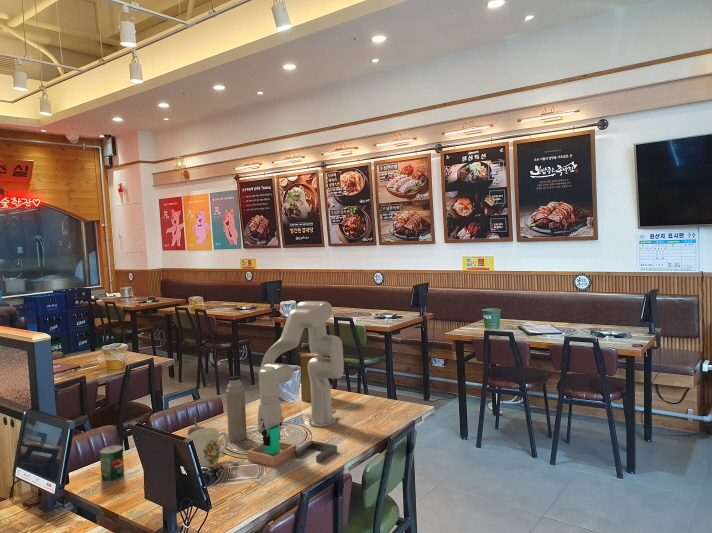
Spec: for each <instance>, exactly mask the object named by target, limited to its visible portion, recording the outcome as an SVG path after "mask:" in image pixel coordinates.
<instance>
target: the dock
mask: <svg viewBox="0 0 712 533" xmlns="http://www.w3.org/2000/svg"><path fill="white" fill-rule="evenodd" d="M312 450H318V451H321V452H320V453H318V454H317V455H315V462H316V463H318V464H322V463H323V462H324V461H326V460H327V459H329V458H330V457H332V456H333V455H335V454H336V453H338V445H337V444H336V445H335V444H330V443H325V442H320V441H315V440H309V441H308V442H307V443H304V444H303V445H302V446H300V447H297V448H296V450H295V451H294V455H293V457H294V458H297V459H298V458H301V457H302V456H303V455H305V454H307V453H309V451H312Z"/></svg>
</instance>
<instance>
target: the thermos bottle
mask: <svg viewBox="0 0 712 533" xmlns="http://www.w3.org/2000/svg"><path fill="white" fill-rule="evenodd" d="M225 392H226V393H225V396H226V397H225V398H226V413H227V414H226V415H227V431H228V433H227V436H228V441H229V440H231V441H239V442H241V441H240V440H243V441H245V440H246V439H247V438H248V435H247V434H248V433H247V432H248V431H247V415H246V414H247V413H246V412H247V411H246V394H245V393H246V392H245V388H244V385H243V382H241V376H239V375H232V376H229V377H228V384H227V386H226V390H225ZM246 437H247V438H246ZM245 438H246V439H245ZM244 439H245V440H244ZM231 441H230V442H231Z"/></svg>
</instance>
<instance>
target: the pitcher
mask: <svg viewBox="0 0 712 533" xmlns="http://www.w3.org/2000/svg"><path fill="white" fill-rule="evenodd" d="M221 436H223V437H224V444H223V446H222V445H221V441H220V438H221ZM186 438H187V439H189V440H191V439H192V440H193V441H194V445H195V448H196V451H197V454H198V457H199V461H200V464H201V466H202V467H204V466H206V467H211V468H213V467H215V466H216V464H217V463H218V462H219V459H220V456H221V454H223V452H225V450H226V449H227V447H228V446H229V436H228V433H226V432H225V431H220V430H219V429H218V428H215V427H204V428H203V429H199V430H196V431H194V432H192V433H191V434H190V435H188V434H187V436H186ZM192 440H191V441H192ZM221 446H222V448H221Z"/></svg>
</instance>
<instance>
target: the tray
mask: <svg viewBox="0 0 712 533" xmlns="http://www.w3.org/2000/svg"><path fill="white" fill-rule="evenodd" d="M296 449H297V444H296V443H295V444H294V443H290V442H285V441H282V440H280V452H279V453H277V454H272V455H271V454H266V453H265V445H263V442H262V443H260V444H258V445H256V446H254V447H253V448H250V449H249V450H247V451H246V453H247V454H246V455H247V456H246V457H247V460H248V461H251V462H255V463H259V464H263V465H267V466H271V467H275V466H278V465H279V464H281V463H282V462H284V461H286V460H287V459H289V458H290V457H292V456H294V451H295V450H296Z"/></svg>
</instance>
